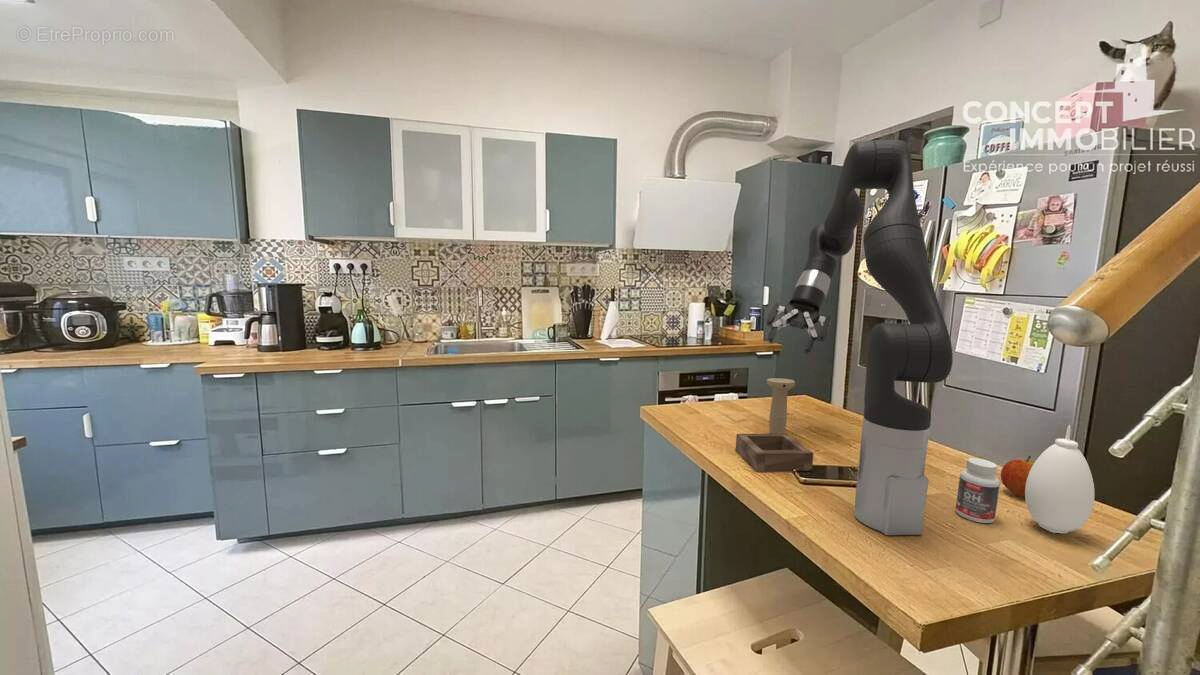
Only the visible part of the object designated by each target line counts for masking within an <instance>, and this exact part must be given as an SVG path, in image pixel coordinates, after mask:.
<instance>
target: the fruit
mask: <svg viewBox="0 0 1200 675" xmlns="http://www.w3.org/2000/svg"><path fill="white" fill-rule="evenodd" d="M1031 457H1032V456H1031V455H1028V458H1026V459H1021V458H1020V459H1018V458H1017V459H1011V460H1009V461H1007V462H1006V463H1004V465H1003V467H1002V468H1001V471H1000V480H1001V483H1002V484H1003V486H1004V488H1006V489H1007V490H1008V491H1009V492H1011V493H1012V494H1013V495H1015V496H1017V497H1019V498H1024V499H1025V487H1026V481H1027V478H1028V475H1029V472H1030V470H1031V468H1032V466H1033V464H1034V463H1035V461H1033V460H1031Z"/></svg>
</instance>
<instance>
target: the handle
mask: <svg viewBox="0 0 1200 675" xmlns="http://www.w3.org/2000/svg"><path fill="white" fill-rule="evenodd" d="M766 385H767V387H769V388H771V389H772V395H771V404H770V411H769V420H768V421H769V422H768V424H769V425H768V426H769V428H768V429H769V434H777V433H786V427H787V423H788V422H787V420H788V393H789V392H788V391H789V390H791V389H793V388H795V387H796V382H795V380H793V379H790V378H789V379H788V378H779V377H778V378H776V377H775V378H774V377H772V378H767V379H766Z"/></svg>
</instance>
